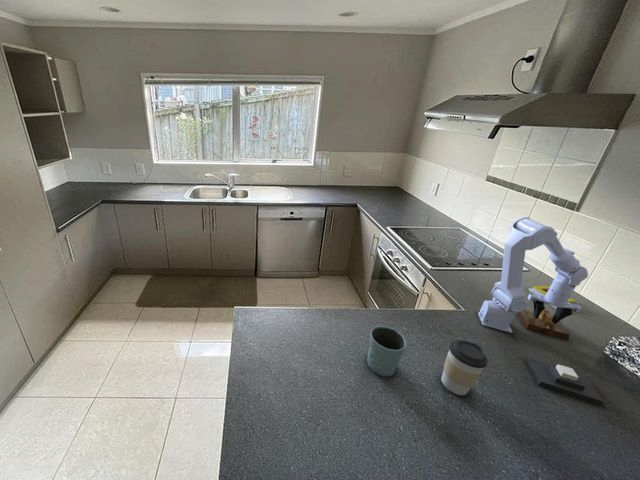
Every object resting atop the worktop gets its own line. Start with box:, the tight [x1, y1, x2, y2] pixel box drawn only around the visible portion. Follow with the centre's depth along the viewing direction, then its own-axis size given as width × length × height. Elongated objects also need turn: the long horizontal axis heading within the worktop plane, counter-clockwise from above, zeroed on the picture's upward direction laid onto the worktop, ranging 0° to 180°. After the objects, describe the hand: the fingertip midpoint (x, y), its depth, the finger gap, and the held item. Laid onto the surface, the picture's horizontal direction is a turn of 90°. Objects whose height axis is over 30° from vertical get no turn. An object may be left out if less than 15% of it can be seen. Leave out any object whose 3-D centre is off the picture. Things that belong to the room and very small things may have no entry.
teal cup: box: [366, 325, 407, 377], centre depth 89 cm, size 10×10×12 cm
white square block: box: [555, 363, 579, 381], centre depth 86 cm, size 4×4×2 cm
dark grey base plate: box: [526, 357, 604, 406], centre depth 87 cm, size 14×10×4 cm
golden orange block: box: [539, 309, 553, 325], centre depth 109 cm, size 5×2×4 cm, turn 154°
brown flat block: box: [517, 309, 571, 340], centre depth 111 cm, size 12×10×3 cm
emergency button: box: [527, 285, 576, 312], centre depth 126 cm, size 9×4×15 cm
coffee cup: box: [440, 339, 489, 396], centre depth 83 cm, size 9×9×15 cm
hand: (544, 319), depth 110 cm, fingers open, 5 cm apart
